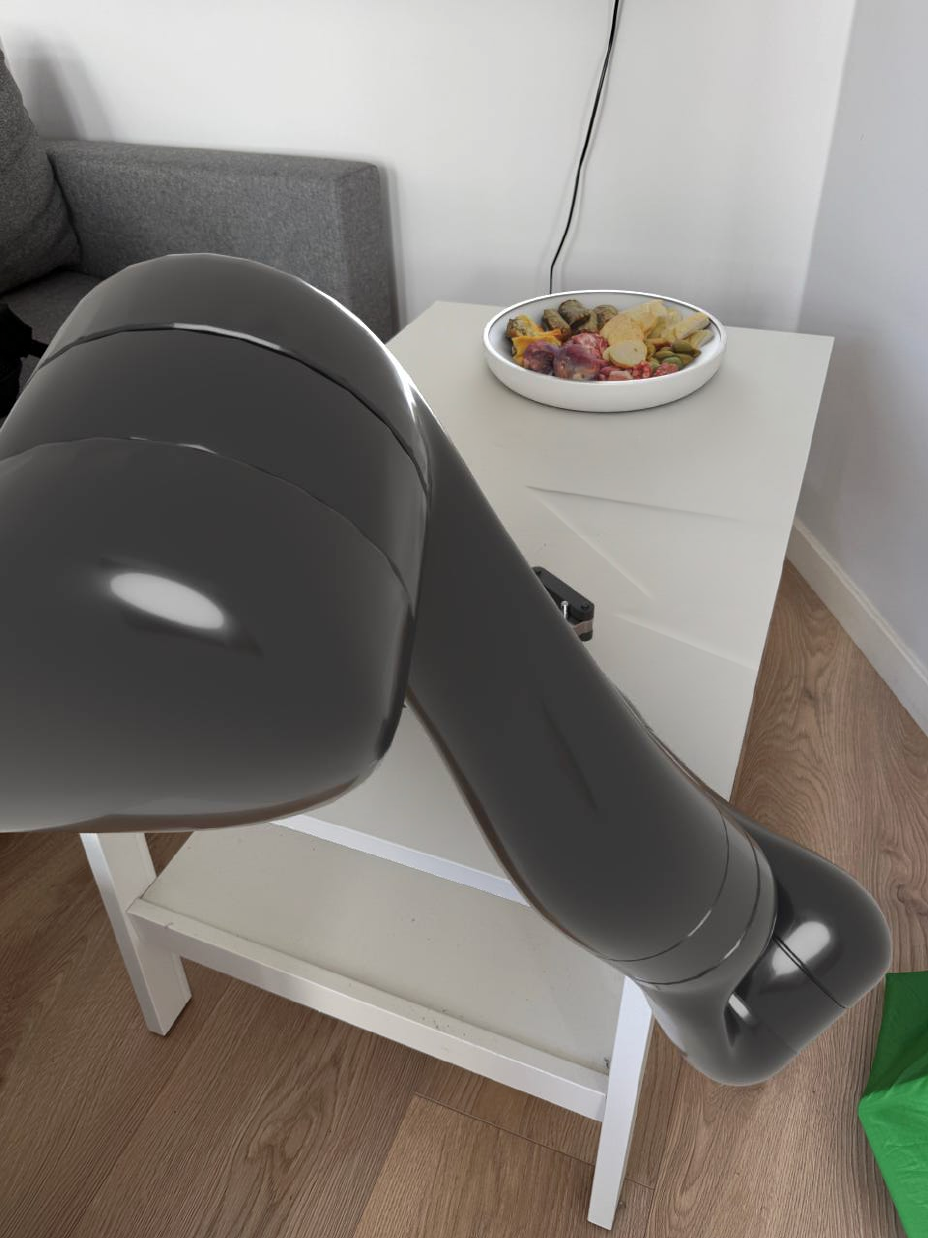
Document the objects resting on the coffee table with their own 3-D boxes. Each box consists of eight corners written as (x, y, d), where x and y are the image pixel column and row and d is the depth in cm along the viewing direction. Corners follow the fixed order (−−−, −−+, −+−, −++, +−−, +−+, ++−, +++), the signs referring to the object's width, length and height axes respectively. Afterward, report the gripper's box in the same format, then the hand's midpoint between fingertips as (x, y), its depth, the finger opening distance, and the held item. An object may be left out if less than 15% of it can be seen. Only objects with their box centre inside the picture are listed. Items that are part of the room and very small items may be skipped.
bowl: (524, 316, 132) (524, 260, 127) (736, 336, 123) (745, 277, 118) (449, 406, 110) (446, 343, 106) (700, 438, 102) (709, 371, 97)
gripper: (671, 631, 51) (520, 497, 63) (440, 720, 46) (324, 557, 58) (658, 726, 56) (520, 584, 68) (447, 816, 51) (338, 647, 63)
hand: (430, 572), depth 63 cm, fingers closed on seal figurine, 6 cm apart
